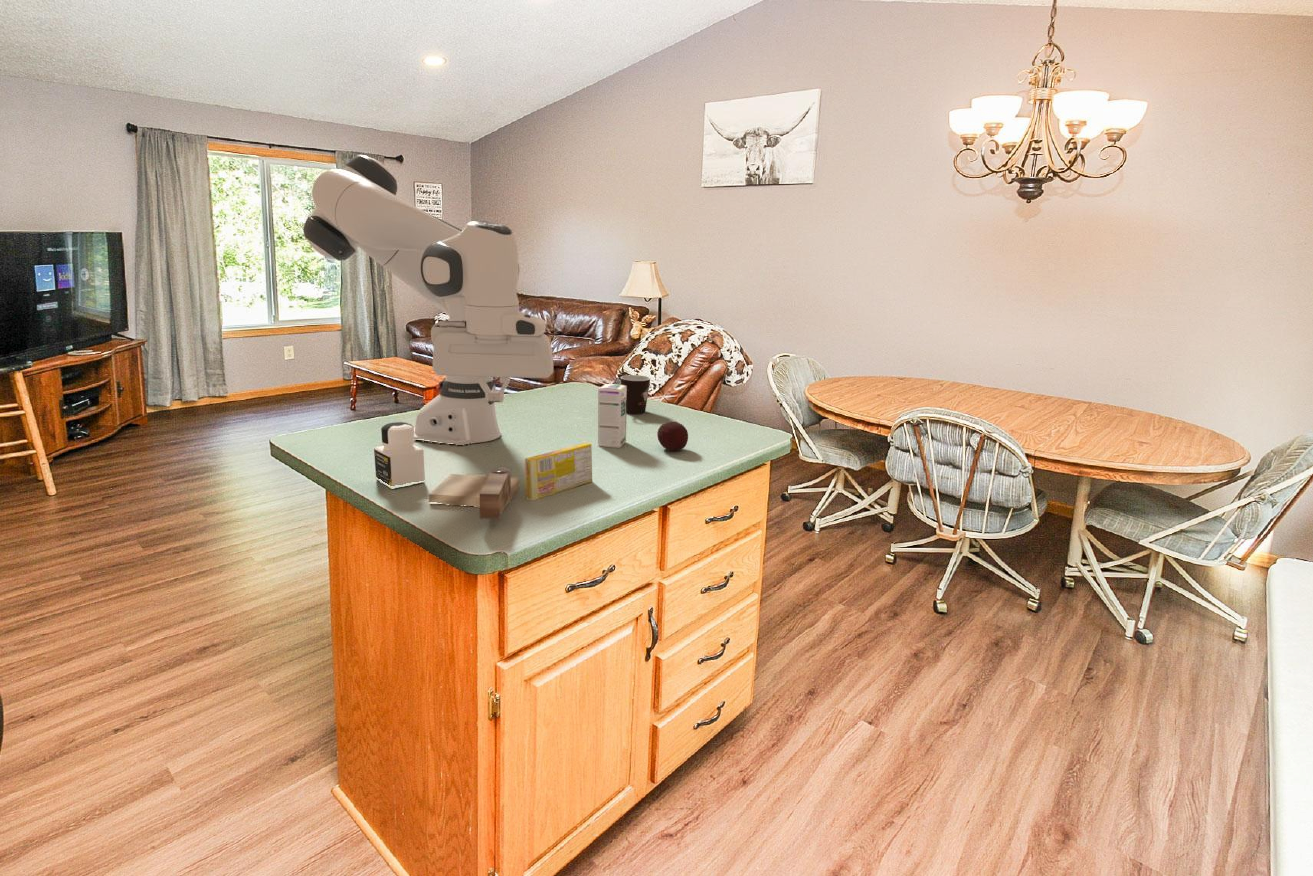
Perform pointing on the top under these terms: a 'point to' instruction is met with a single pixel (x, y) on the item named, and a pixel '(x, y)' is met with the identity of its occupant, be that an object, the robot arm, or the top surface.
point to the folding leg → (495, 493)
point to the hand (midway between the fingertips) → (494, 401)
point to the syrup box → (612, 415)
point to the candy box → (558, 470)
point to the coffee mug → (636, 393)
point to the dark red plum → (672, 436)
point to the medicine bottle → (399, 455)
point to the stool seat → (465, 490)
